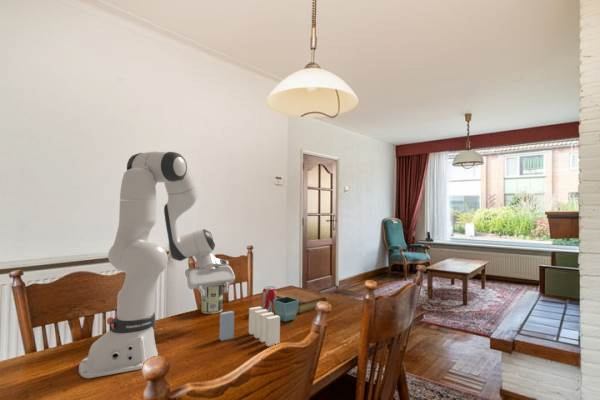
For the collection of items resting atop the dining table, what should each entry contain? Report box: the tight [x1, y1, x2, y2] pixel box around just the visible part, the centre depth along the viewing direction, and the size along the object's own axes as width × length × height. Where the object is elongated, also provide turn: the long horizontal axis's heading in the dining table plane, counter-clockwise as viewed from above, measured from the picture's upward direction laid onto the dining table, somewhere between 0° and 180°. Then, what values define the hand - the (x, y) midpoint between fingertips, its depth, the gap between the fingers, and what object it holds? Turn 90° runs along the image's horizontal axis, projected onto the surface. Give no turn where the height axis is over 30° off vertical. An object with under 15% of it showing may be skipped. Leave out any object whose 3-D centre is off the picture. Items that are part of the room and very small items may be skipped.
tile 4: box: [265, 314, 281, 347], centre depth 121 cm, size 5×2×10 cm, turn 126°
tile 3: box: [259, 312, 275, 343], centre depth 124 cm, size 5×2×10 cm, turn 126°
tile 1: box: [248, 305, 262, 336], centre depth 132 cm, size 5×2×10 cm, turn 126°
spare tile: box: [219, 310, 235, 342], centre depth 125 cm, size 5×2×10 cm, turn 126°
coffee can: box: [201, 285, 224, 315], centre depth 159 cm, size 10×10×14 cm
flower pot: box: [273, 297, 299, 323], centre depth 148 cm, size 9×9×9 cm
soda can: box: [261, 285, 277, 313], centre depth 158 cm, size 7×7×12 cm
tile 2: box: [253, 309, 268, 339], centre depth 128 cm, size 5×2×10 cm, turn 126°
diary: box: [277, 288, 327, 315], centre depth 170 cm, size 23×19×6 cm
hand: (216, 293), depth 135 cm, fingers open, 8 cm apart
